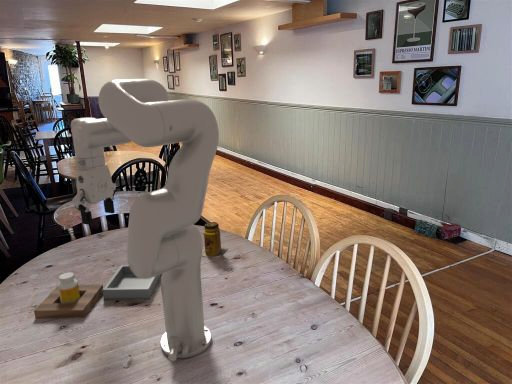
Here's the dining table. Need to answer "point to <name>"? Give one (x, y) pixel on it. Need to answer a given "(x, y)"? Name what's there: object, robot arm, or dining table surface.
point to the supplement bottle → (68, 288)
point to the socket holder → (69, 310)
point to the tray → (129, 286)
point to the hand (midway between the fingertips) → (99, 218)
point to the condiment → (212, 240)
